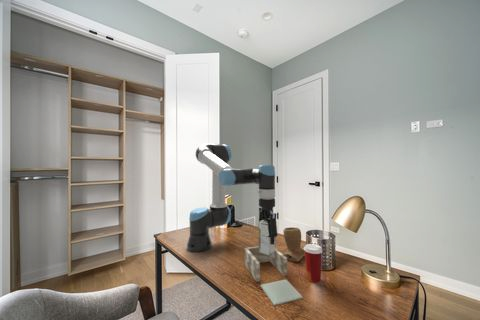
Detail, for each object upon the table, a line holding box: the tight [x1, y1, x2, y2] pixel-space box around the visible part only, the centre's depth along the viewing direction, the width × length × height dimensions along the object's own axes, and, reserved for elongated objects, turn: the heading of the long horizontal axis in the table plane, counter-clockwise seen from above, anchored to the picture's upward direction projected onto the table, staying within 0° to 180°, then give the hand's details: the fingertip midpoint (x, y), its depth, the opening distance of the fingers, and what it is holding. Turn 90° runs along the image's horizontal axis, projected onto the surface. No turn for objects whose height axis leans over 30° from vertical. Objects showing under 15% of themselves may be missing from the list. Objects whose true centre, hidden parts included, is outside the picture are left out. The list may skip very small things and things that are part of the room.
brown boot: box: [282, 226, 305, 262], centre depth 109 cm, size 15×12×15 cm
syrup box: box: [258, 219, 277, 255], centre depth 91 cm, size 6×6×14 cm
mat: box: [260, 279, 303, 306], centre depth 78 cm, size 12×12×1 cm
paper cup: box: [303, 243, 323, 284], centre depth 87 cm, size 8×8×14 cm
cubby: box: [243, 245, 288, 283], centre depth 95 cm, size 16×15×8 cm
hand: (267, 247), depth 91 cm, fingers closed on syrup box, 7 cm apart
